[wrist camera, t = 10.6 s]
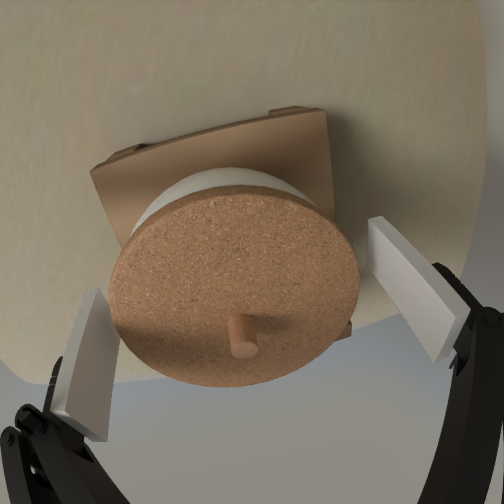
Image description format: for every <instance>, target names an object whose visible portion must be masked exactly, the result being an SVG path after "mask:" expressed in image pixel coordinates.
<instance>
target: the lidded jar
mask: <svg viewBox="0 0 504 504" xmlns="http://www.w3.org/2000/svg"><path fill="white" fill-rule="evenodd" d="M359 290H360V271H359V264H358V260H357V257H356V255H355V252H354V249H353V247H352V245H351V244H350V242H349V240H348V239H347V237H346V236H345V234H344V233H343V231H342V230H341V229H340V228H339V227H338V226H337V224H336V223H335V222H334V221H333V220H332V219H331V218H330V217H329V216H328V215H327V214H326V213H325V212H323V211H322V210H321V209H319V208H318V207H317V206H316V205H315V204H314V203H313V202H312V201H311V200H310V199H308V198H307V197H306V196H305V195H304V194H303V193H301V192H300V191H298V190H297V189H295V188H294V187H292V186H291V185H289V184H288V183H286V182H285V181H283V180H281V179H279V178H276V177H274V176H272V175H269V174H267V173H264V172H260V171H256V170H251V169H247V168H235V167H226V168H215V169H210V170H206V171H202V172H199V173H196V174H193V175H191V176H189V177H187V178H184V179H182V180H181V181H179V182H177V183H176V184H174V185H173V186H171V187H170V188H168V189H167V190H166V191H164V192H163V193H162V194H161V195H160V196H159V197H158V198H157V199H156V200H154V201H153V202H152V203H151V205H150V206H149V207H148V209H147V210H146V211H145V213H144V214H143V215H142V217H141V218H140V219H139V221H138V222H137V224H136V225H135V227H134V229H133V231H132V233H131V236H130V238H129V240H128V241H127V242H126V244H125V245H124V247H123V249H122V251H121V253H120V255H119V258H118V260H117V262H116V265H115V267H114V270H113V273H112V277H111V282H110V287H109V308H110V312H111V316H112V320H113V323H114V325H115V327H116V329H117V332H118V334H119V335H120V337H121V338H122V340H123V341H124V343H125V344H126V346H127V347H128V348H129V350H130V351H131V352H133V353H134V354H135V355H136V356H137V357H138V358H139V359H140V360H141V361H143V362H144V363H145V364H146V365H148V366H149V367H150V368H152V369H154V370H156V371H158V372H160V373H162V374H163V375H166V376H168V377H171V378H173V379H176V380H178V381H182V382H186V383H190V384H195V385H200V386H206V387H241V386H248V385H254V384H258V383H263V382H267V381H270V380H273V379H276V378H279V377H282V376H284V375H287V374H289V373H291V372H293V371H296V370H298V369H299V368H301V367H303V366H304V365H306V364H308V363H309V362H311V361H312V360H314V359H315V358H316V357H318V356H319V355H321V354H322V353H323V352H324V351H325V350H326V349H327V348H328V347H329V346H330V345H332V343H333V342H334V341H335V340H336V339H337V338H338V337H339V336H340V334H341V333H342V332H343V330H344V329H345V327H346V325H347V324H348V322H349V320H350V318H351V316H352V314H353V312H354V310H355V307H356V303H357V299H358V295H359Z"/></svg>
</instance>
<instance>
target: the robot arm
mask: <svg viewBox="0 0 504 504" xmlns="http://www.w3.org/2000/svg"><path fill="white" fill-rule="evenodd" d="M366 265H367V267H368V268H369V269H370V271H371V272H372V273H373V275H374V276H375V277H376V279H377V280H378V281H379V283H380V284H381V285H382V287H383V288H384V290H385V291H386V292H387V294H388V295H389V297H390V298H391V299H392V301H393V302H394V304H395V305H396V307H397V308H398V309H399V311H400V312H401V314H402V315H403V316H404V318H405V319H406V321H407V323H408V324H409V325H410V327H411V329H412V330H413V331H414V333H415V335H416V336H417V338H418V339H419V341H420V342H421V344H422V345H423V347H424V348H425V350H426V352H427V353H428V355H429V356H430V358H431V359H432V361H433V363H436V362H438V361H440V360H442V359H444V358H446V357H448V356H449V354H450V352H451V350H452V348H454V349H455V350H456V352H457V354H456V355H455V357H454V359H453V361H452V362H451V364H450V367H449V368H450V369H452V367H453V365H454V369H453V376H452V382H451V388H450V394H449V399H448V405H447V409H446V414H445V418H444V423H443V427H442V431H441V435H440V438H439V442H438V446H437V449H436V453H435V456H434V459H433V462H432V465H431V468H430V471H429V474H428V477H427V480H426V483H425V485H424V488H423V491H422V493H421V496H420V498H419V501H418V503H417V504H484V502H485V499H486V496H487V492H488V489H489V485H490V482H491V478H492V473H493V470H494V465H495V461H496V456H497V451H498V446H499V440H500V433H501V427H502V422H503V436H504V313H500V312H499V311H497V310H496V309H494V308H491V307H483V306H482V305H481V304H480V303H479V302H478V301H477V300H476V298H475V297H474V296H473V295H472V294H471V293H470V292H469V290H468V289H467V288H466V287H465V286H464V285H463V284H461V282H460V280H459V279H458V278H457V277H455V275H454V274H453V273H452V272H451V271H450V270H449V269H448V268H447V267H445V266H443V265H442V264H440V263H438V262H437V263H434V264H430V263H429V262H428V261H427V260H426V258H425V257H424V256H423V255H422V254H421V253H420V252H419V251H418V250H417V249H416V248H415V247H414V246H413V245H412V244H411V243H410V242H409V241H408V240H407V239H406V238H405V237H404V236H403V235H402V234H401V233H400V232H399V231H398V230H397V229H396V228H394V227H393V226H392V225H391V224H390V223H389V222H388V221H387V220H386V219H385V218H384V217H383V216H378V217H374V218H370V219H368V242H367V261H366ZM120 338H121V337H120V335H119V334H118V332H117V329H116V327H115V325H114V323H113V320H112V316H111V312H110V308H109V304H108V302H107V301H106V299H105V298H104V296H103V294H102V293H101V291H100V289H99V288H98V287H97V288H93V289H89V290H86V291H85V294H84V296H83V299H82V302H81V304H80V307H79V310H78V313H77V316H76V319H75V321H74V324H73V327H72V330H71V333H70V336H69V340H68V343H67V346H66V349H65V353H64V356H61V357H59V359H58V361H57V362H56V364H55V365H54V368H53V372H52V375H51V376H52V378H51V379H50V383H49V384H50V386H49V387H48V391H47V395H46V399H45V403H44V407H43V412H40V411H39V410H38V409H37V408H35V407H34V406H33V405H31V404H25V405H23V406H22V407H21V408H20V409H19V410H18V411H17V414H16V416H15V427H17V428H18V429H20V430H21V431H18V430H17V429H15V428H14V427H11V426H9V427H7V428H5V429H4V430H3V432H2V434H1V438H0V447H1V455H2V462H3V468H4V475H5V480H6V485H7V490H8V494H9V498H10V502H11V504H130V503H129V501H128V500H127V499H126V498H125V497H124V495H123V494H122V493H121V492H120V490H119V489H118V488H117V486H116V485H115V484H114V483H113V481H112V480H111V479H110V477H109V476H108V474H107V473H106V472H105V470H104V469H103V468H102V466H101V465H100V463H99V462H98V460H97V459H96V457H95V456H94V454H93V453H92V451H91V450H90V448H89V447H88V445H87V444H86V443H85V442H84V436H85V437H87V438H88V439H90V440H91V441H93V442H107V439H108V426H109V416H110V406H111V397H112V390H113V382H114V375H115V368H116V362H117V356H118V350H119V344H120ZM503 439H504V437H503ZM31 467H32V468H34V470H35V474H33V473H32V471H31ZM501 504H504V476H503V493H502V502H501Z"/></svg>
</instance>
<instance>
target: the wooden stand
mask: <svg viewBox="0 0 504 504" xmlns="http://www.w3.org/2000/svg"><path fill="white" fill-rule="evenodd" d="M226 167H235V168H247V169H251V170H256V171H260V172H264V173H267V174H269V175H272V176H274V177H276V178H279V179H281V180H283V181H285V182H286V183H288V184H289V185H291V186H292V187H294V188H295V189H297V190H298V191H300V192H301V193H303V194H304V195H305V196H306V197H307V198H308V199H310V200H311V201H312V202H313V203H314V204H315V205H316V206H317V207H318V208H319V209H321V210H322V211H323V212H325V213H326V214H327V215H328V216H329V217H330V218H331V219H332V220H333V221H334V222H335V223H336V217H335V201H334V187H333V175H332V164H331V154H330V144H329V136H328V127H327V119H326V112H325V110H321V109H318V108H313V109H306V108H303V107H299V106H292V107H286V108H280V109H274V110H269V116H264V117H259V118H254V119H249V120H244V121H240V122H235V123H231V124H226V125H222V126H218V127H214V128H210V129H206V130H202V131H198V132H195V133H191V134H187V135H184V136H180V137H177V138H173V139H170V140H167V141H163V142H160V143H157V144H154V145H151V146H148V147H145V148H141V144H138V145H135V146H132V147H129V148H126V149H123V150H121V151H118V152H115V153H114V154H113V155H111V156H110V157H109V158H108V159H107V160H106V161H105V162H103V163H100V164H98V165H96V166H95V167H94V168H93V169H92V170H91V171H90V174H91V177H92V180H93V182H94V185H95V187H96V190H97V193H98V195H99V198H100V200H101V202H102V205H103V207H104V210H105V212H106V214H107V217H108V219H109V221H110V224H111V226H112V228H113V231H114V233H115V235H116V237H117V239H118V242H119V244H120V246H121V248H122V249H123V247H124V245H125V244H126V242H127V241H128V240H129V238H130V236H131V233H132V231H133V229H134V227H135V225H136V224H137V222H138V221H139V219H140V218H141V217H142V215H143V214H144V213H145V211H146V210H147V209H148V207H149V206H150V205H151V203H152V202H153V201H154V200H156V199H157V198H158V197H159V196H160V195H161V194H162V193H163V192H164V191H166V190H167V189H168V188H170V187H171V186H173V185H174V184H176V183H177V182H179V181H181V180H182V179H184V178H187V177H189V176H191V175H193V174H196V173H199V172H202V171H206V170H210V169H215V168H226ZM351 331H352V323H351V321H350V320H349V322H348V324H347V325H346V327H345V329H344V330H343V332H342V333H341V334H340V336H339V337H338V338H337V339H336V340H335V341H338V340H341V339H344V338H347V337H350V336H351ZM335 341H334V342H335Z"/></svg>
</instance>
